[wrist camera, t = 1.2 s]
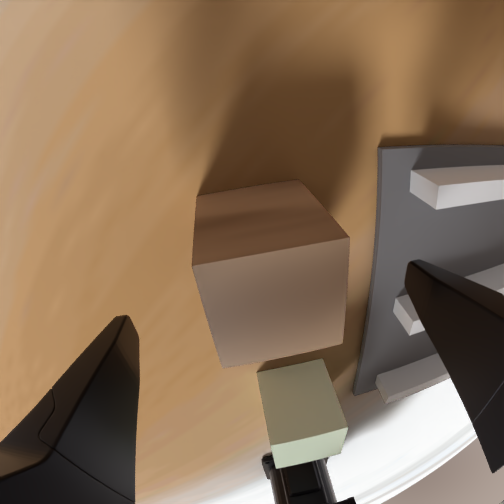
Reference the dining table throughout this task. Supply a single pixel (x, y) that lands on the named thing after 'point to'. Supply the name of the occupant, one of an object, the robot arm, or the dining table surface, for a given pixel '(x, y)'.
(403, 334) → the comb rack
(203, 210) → the walnut block
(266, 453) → the dining table surface
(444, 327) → the robot arm
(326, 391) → the sage block
